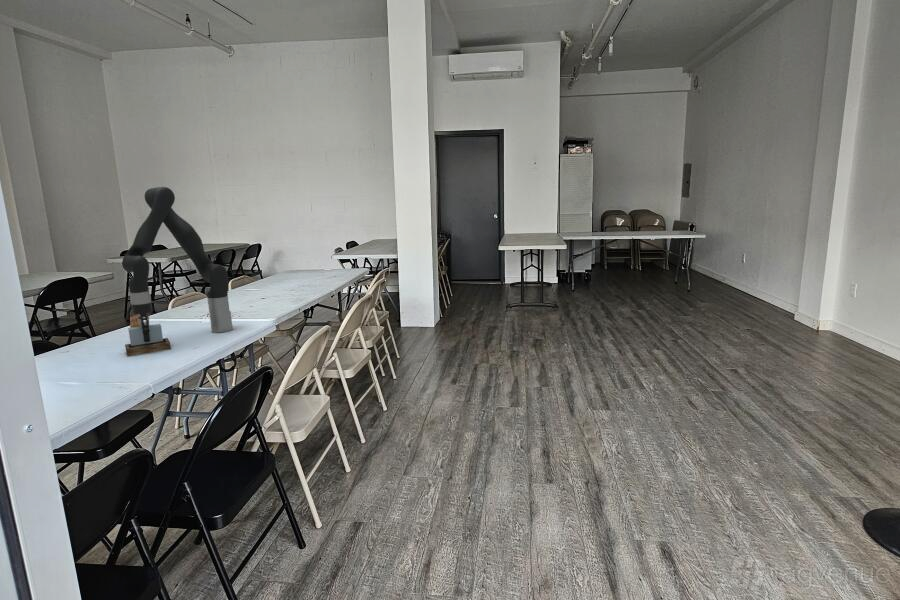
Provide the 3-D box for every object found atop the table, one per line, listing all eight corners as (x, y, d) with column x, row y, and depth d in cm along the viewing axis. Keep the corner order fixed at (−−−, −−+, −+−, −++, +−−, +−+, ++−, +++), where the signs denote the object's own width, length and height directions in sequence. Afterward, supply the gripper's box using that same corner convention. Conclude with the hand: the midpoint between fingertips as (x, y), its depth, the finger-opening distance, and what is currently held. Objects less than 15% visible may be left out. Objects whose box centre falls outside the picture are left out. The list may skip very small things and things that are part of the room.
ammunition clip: (135, 341, 237) (131, 316, 235) (131, 341, 237) (127, 316, 235) (150, 335, 247) (147, 311, 245) (147, 335, 248) (143, 311, 245)
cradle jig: (168, 344, 231) (167, 337, 230) (171, 349, 223) (170, 342, 222) (126, 351, 221) (124, 344, 221) (127, 356, 214) (126, 349, 213)
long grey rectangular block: (162, 339, 226) (159, 323, 225) (163, 340, 223) (160, 325, 222) (130, 343, 220) (128, 328, 218) (131, 345, 216) (128, 330, 215)
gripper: (152, 303, 214) (158, 342, 218) (149, 298, 226) (155, 335, 229) (132, 305, 210) (138, 345, 213) (129, 300, 222) (135, 338, 225)
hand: (146, 340), depth 221 cm, fingers closed on long grey rectangular block, 4 cm apart
